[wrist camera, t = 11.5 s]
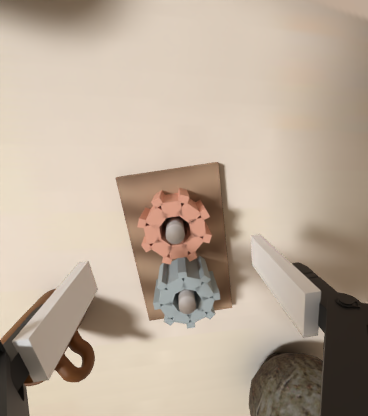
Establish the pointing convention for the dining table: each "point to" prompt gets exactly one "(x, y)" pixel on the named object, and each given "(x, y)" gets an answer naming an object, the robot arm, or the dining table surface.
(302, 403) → the vase
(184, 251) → the gear
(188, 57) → the dining table surface
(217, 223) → the gear board
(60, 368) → the mug
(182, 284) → the gear
